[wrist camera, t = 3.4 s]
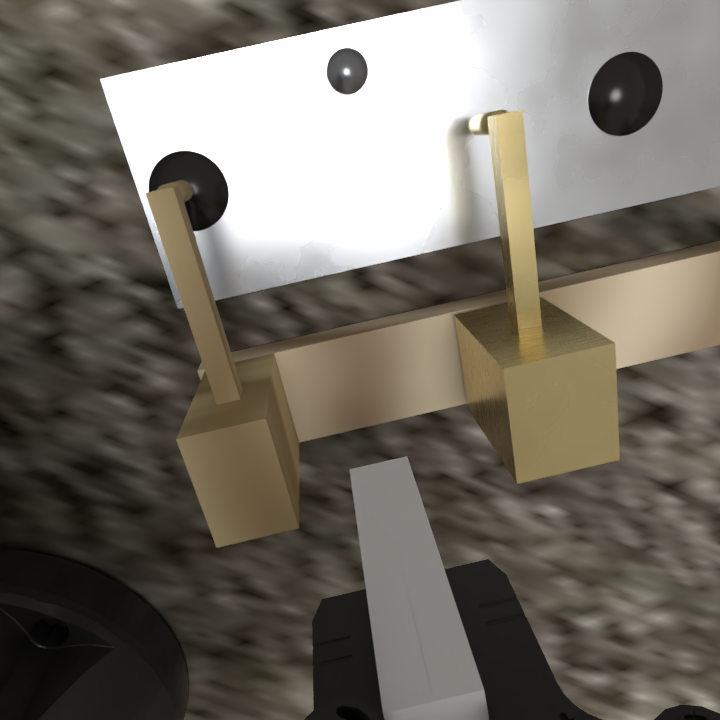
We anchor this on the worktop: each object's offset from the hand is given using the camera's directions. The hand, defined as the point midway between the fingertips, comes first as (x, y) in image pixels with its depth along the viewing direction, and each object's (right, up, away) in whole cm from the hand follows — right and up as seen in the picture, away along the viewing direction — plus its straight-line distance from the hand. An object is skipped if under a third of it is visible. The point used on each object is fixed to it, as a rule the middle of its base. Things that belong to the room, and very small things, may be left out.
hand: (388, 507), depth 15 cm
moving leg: (+4, +7, +4) cm, 9 cm away
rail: (+4, +7, +6) cm, 10 cm away
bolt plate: (+3, +12, +4) cm, 13 cm away
